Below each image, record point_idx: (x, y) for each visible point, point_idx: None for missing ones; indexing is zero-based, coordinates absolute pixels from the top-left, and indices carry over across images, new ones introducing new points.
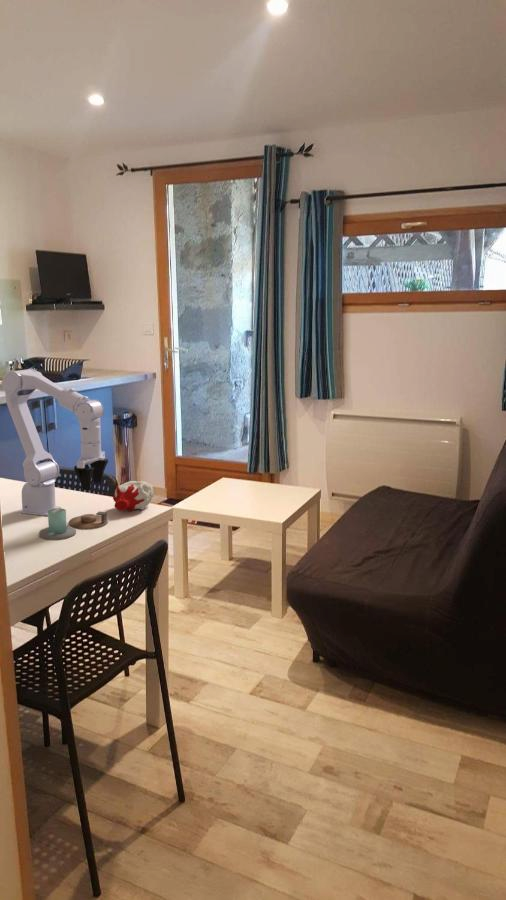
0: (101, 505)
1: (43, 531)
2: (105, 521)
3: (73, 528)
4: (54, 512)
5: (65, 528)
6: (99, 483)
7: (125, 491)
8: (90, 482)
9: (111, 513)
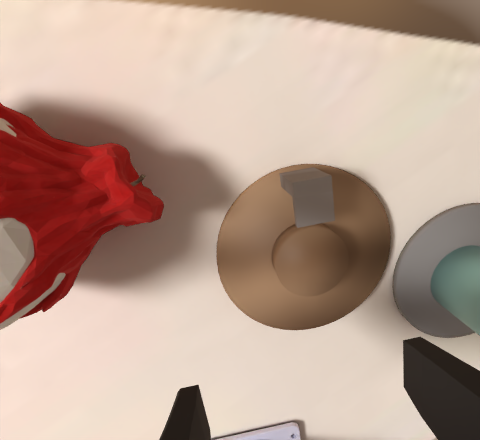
0: (60, 351)
1: None
2: (297, 171)
3: (417, 246)
4: None
5: (478, 252)
6: (199, 391)
7: (18, 222)
8: (471, 379)
9: (135, 242)
